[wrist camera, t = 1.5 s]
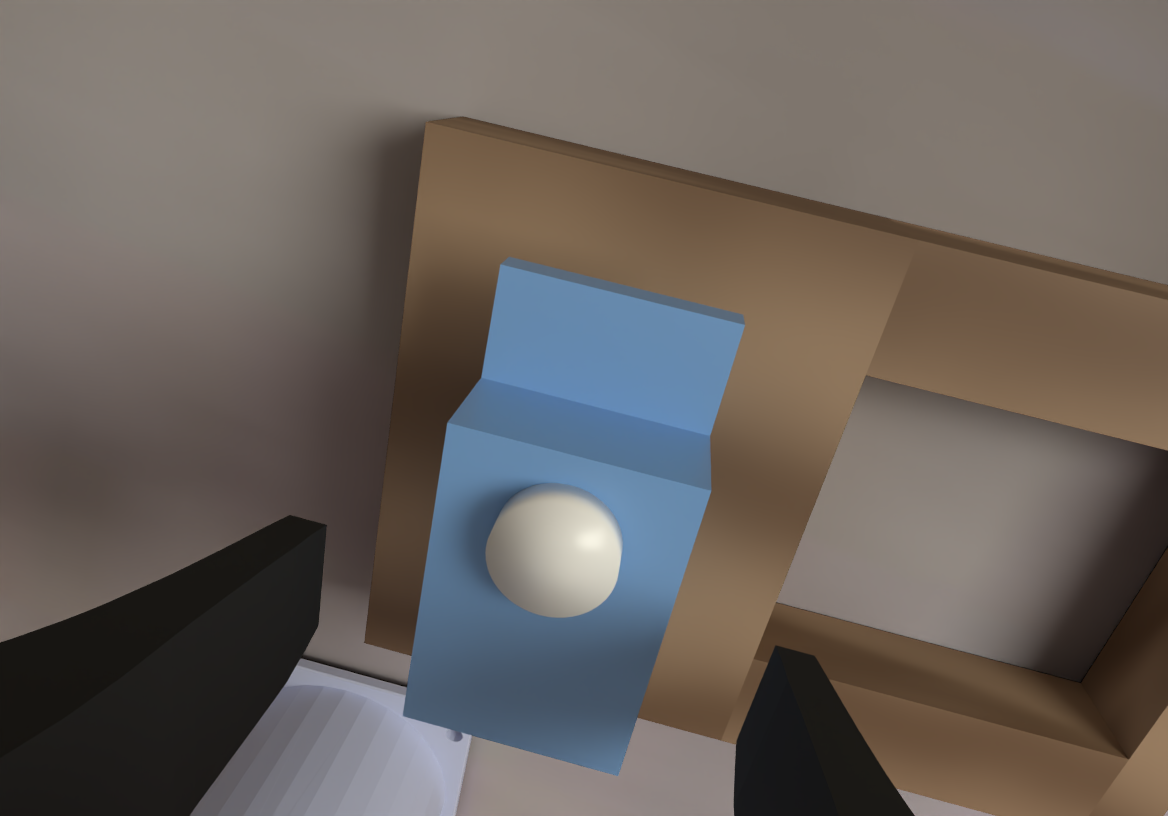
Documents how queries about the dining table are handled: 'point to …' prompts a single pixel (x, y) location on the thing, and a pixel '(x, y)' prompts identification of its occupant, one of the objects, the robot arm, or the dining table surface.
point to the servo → (567, 512)
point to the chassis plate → (803, 442)
